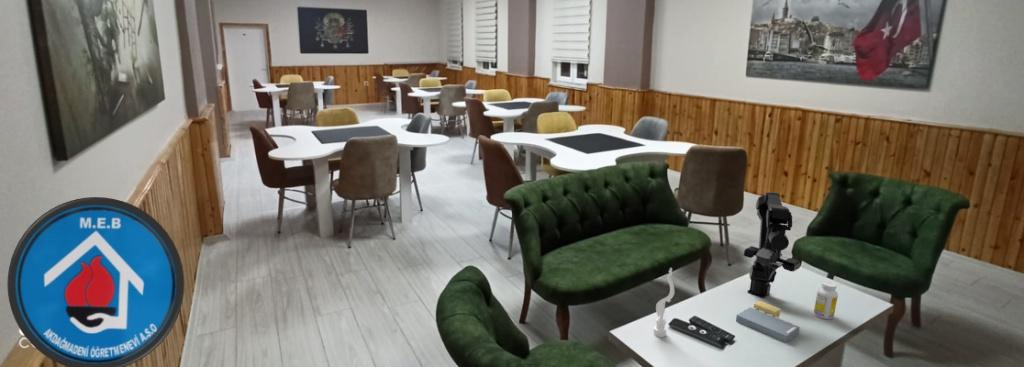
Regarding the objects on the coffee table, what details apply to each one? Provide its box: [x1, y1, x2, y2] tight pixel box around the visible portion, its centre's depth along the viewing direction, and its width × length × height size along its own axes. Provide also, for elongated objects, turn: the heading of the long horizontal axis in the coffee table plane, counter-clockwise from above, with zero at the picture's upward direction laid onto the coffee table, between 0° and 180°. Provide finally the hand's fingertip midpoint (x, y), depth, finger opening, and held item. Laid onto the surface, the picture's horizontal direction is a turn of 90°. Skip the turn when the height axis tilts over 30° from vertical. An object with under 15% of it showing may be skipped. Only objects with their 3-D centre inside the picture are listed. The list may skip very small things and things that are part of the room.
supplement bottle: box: [813, 280, 839, 320], centre depth 207 cm, size 7×7×13 cm
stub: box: [753, 300, 781, 318], centre depth 206 cm, size 8×4×4 cm, turn 40°
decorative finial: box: [653, 267, 675, 338], centre depth 188 cm, size 6×4×25 cm
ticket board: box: [735, 306, 801, 343], centre depth 198 cm, size 18×10×3 cm, turn 40°
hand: (767, 279), depth 209 cm, fingers closed
